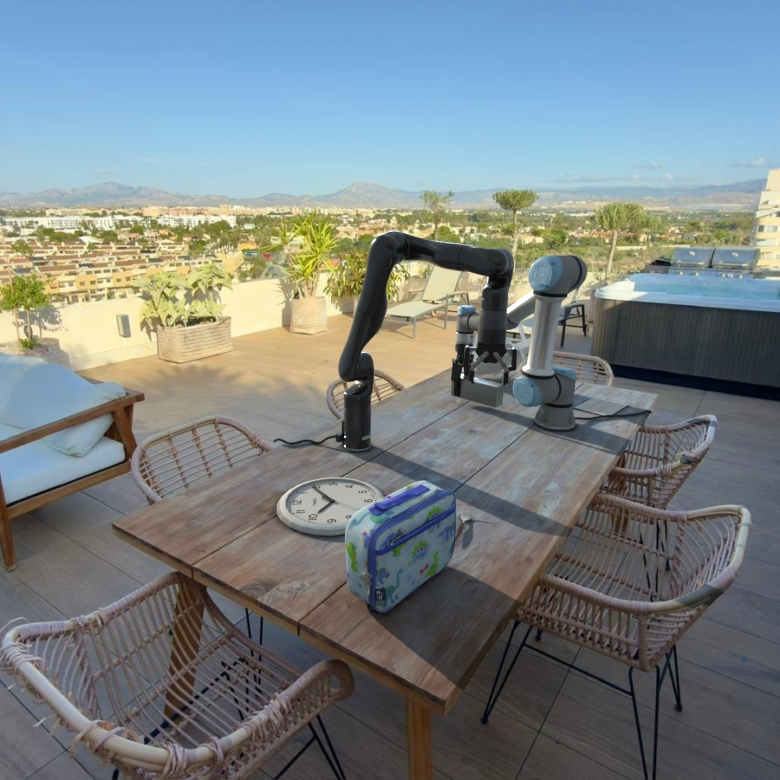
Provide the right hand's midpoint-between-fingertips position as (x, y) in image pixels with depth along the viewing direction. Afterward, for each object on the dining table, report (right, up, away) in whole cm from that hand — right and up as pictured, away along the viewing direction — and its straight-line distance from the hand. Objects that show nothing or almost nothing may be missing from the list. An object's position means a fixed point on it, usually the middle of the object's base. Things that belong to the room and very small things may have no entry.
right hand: (460, 394), depth 228 cm
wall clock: (-47, -30, -85) cm, 102 cm away
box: (+6, -2, -5) cm, 8 cm away
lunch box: (-28, -40, -116) cm, 126 cm away
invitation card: (+61, -6, -2) cm, 61 cm away
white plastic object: (+23, +5, +29) cm, 38 cm away
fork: (-13, -33, -95) cm, 101 cm away
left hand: (-4, +3, -84) cm, 84 cm away
